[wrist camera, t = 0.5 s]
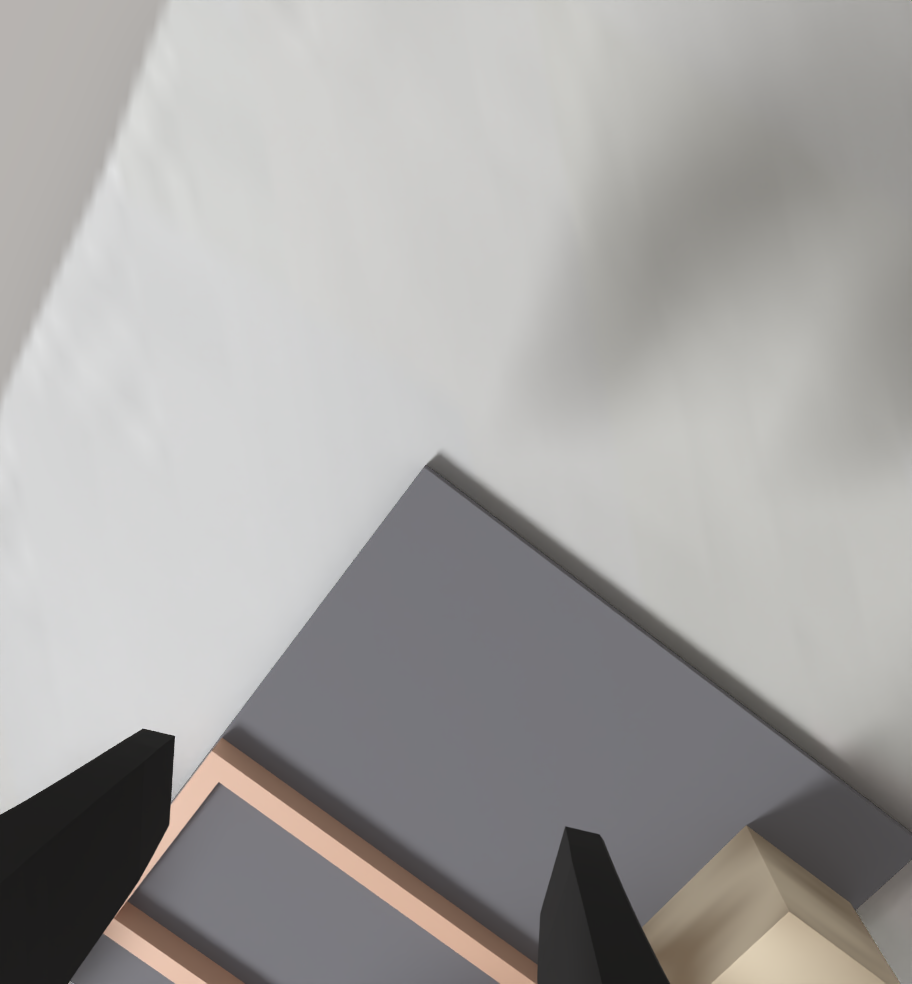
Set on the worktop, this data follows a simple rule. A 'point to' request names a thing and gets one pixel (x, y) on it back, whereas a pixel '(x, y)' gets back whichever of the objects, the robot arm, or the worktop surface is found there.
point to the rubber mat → (479, 767)
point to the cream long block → (762, 925)
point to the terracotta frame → (226, 764)
